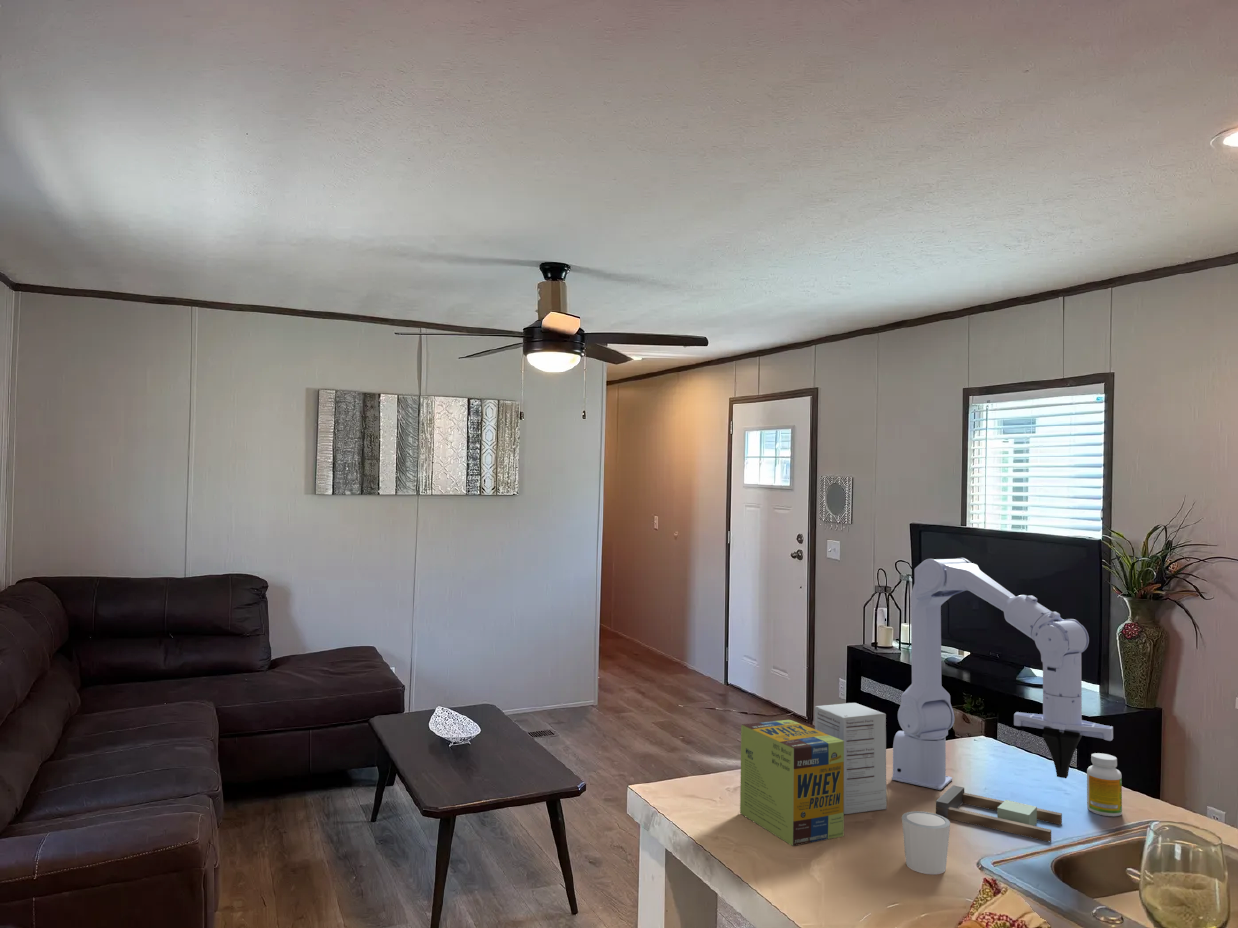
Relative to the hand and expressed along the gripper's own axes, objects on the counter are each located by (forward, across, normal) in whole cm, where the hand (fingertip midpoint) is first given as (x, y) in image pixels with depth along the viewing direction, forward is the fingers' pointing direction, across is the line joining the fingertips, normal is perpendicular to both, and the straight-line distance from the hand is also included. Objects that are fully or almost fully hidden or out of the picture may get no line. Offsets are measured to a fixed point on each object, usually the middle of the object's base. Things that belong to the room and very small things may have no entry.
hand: (1062, 776), depth 141 cm
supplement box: (+10, -33, -9) cm, 36 cm away
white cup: (+10, -14, -27) cm, 32 cm away
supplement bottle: (+10, +4, +16) cm, 19 cm away
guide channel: (+9, -10, 0) cm, 14 cm away
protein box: (+10, -37, -25) cm, 46 cm away
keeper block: (+10, -7, 0) cm, 12 cm away
